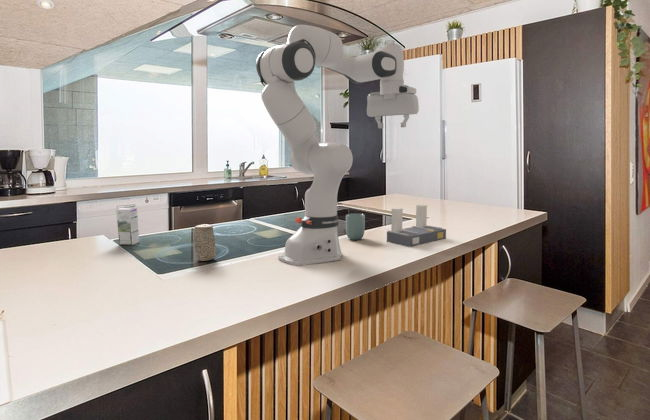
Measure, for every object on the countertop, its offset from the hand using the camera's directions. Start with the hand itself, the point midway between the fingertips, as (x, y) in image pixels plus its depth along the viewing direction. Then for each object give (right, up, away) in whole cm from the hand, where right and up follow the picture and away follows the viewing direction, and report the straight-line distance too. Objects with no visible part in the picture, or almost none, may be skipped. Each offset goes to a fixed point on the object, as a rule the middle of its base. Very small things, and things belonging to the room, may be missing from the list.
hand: (391, 127), depth 163 cm
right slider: (+15, -38, +15) cm, 44 cm away
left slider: (+3, -40, +6) cm, 40 cm away
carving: (-66, -49, -19) cm, 84 cm away
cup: (-13, -44, +13) cm, 47 cm away
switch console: (+11, -44, +9) cm, 46 cm away
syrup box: (-104, -45, +8) cm, 114 cm away
